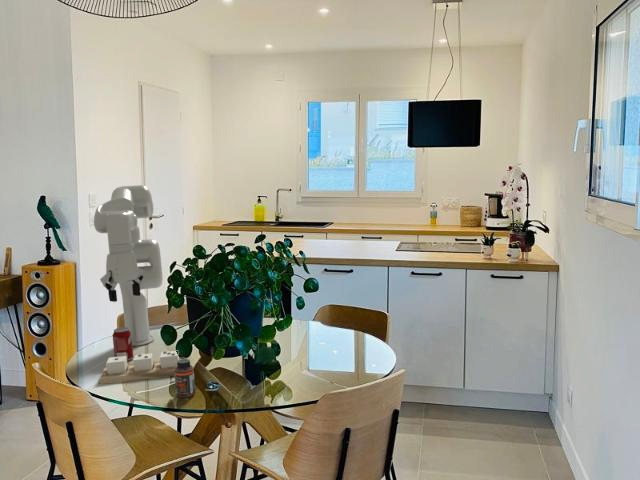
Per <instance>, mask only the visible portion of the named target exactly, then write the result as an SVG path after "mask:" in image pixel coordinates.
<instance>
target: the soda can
mask: <svg viewBox="0 0 640 480" xmlns="http://www.w3.org/2000/svg"><path fill="white" fill-rule="evenodd" d="M112 344H113V354H114V357H120V356H126V357H127V362H129V361H131V360H132V359H134V349H133V347H134V346H132V336H131V332H130V331H129V328H127V327H125V326H124V327H123V326H122V327H117V328H114V330H113V334H112Z"/></svg>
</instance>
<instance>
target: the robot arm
mask: <svg viewBox="0 0 640 480" xmlns="http://www.w3.org/2000/svg"><path fill="white" fill-rule="evenodd" d="M110 198H111V199H110V200H108V201H106V202H104V203H102V204H100V205H99V206H97V207H96V209H95V212H94V217H93V225H94V229H95V231H96V232H97V233H99V234H107V242H108V243H107V244H108V254H107V255H106V262H105V263H106V264H105V265H106V266H105V267H106V268H105V271H106V272H105V274H104V275H103V276H101V278H100V279H99V280H100V283H102V286H103V287H104V288H106V290H107V291H108V299H109V302H113V303H116V302H117V301H118V294H117V289H115V288H116V287H117V286H118V285H119V289H120V294H121V300H122V309H123V317H124V320H123V321H124V327H127V328H129V331H130V332H131V336H132V347H137V346H143V345H148V344H150V343H152V342H154V341H155V337H154V335H151V334H150V324H149V313H148V311H149V309H148V300H147V298H146V296H145V294H143V293H142V292H141V290H149V289H157V288H160V287H162V285H163V280H164V279H163V278H164V277H163V268H162V257H161V256H162V255H161V249H160V245H159V243H158V241H157V240H155V239H151V238H150V239H147V238H146V239H141V235H140V227H139V226H138V220H139V219H148V218H151V217H152V216H153V214H154V203H153V197H152V193H151V191H150V189H149V188H148V187H147V186H146V185H139V184H138V185H124V186H123V185H122V186H119V187H116V188H115V189H114V190H113V191H112V194H111V197H110ZM144 263H145V264H146V263H148V264H149V265H141V266H138V264H144ZM117 284H118V285H117Z"/></svg>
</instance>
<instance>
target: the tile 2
mask: <svg viewBox="0 0 640 480" xmlns="http://www.w3.org/2000/svg"><path fill="white" fill-rule="evenodd" d="M153 356H154V355H153V353H152V352H151V353H141V354H135V355H134V356H133V362H132V363H134V371H135V372H136V371H145V370H153V369H152V368H153V361H154V357H153Z"/></svg>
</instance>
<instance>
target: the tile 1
mask: <svg viewBox="0 0 640 480" xmlns="http://www.w3.org/2000/svg"><path fill="white" fill-rule="evenodd" d="M105 364H106V365H105V366H107V374H117V373H127V372H126V369H127V364H128V361H127V357H126V356H120V357H115V356H114V357H108V358H107V361H106V363H105Z"/></svg>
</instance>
